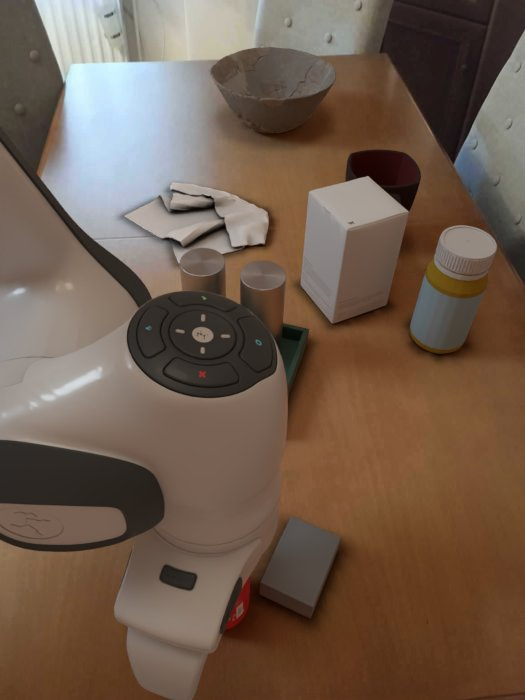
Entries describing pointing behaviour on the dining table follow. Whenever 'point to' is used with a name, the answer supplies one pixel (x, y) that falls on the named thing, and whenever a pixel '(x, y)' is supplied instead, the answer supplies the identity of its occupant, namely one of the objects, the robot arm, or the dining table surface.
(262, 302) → the silver cans
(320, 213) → the rectangular carton
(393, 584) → the dining table surface
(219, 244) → the cloth
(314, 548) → the grey block right
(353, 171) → the cup
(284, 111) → the ceramic bowl
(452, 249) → the bottle
